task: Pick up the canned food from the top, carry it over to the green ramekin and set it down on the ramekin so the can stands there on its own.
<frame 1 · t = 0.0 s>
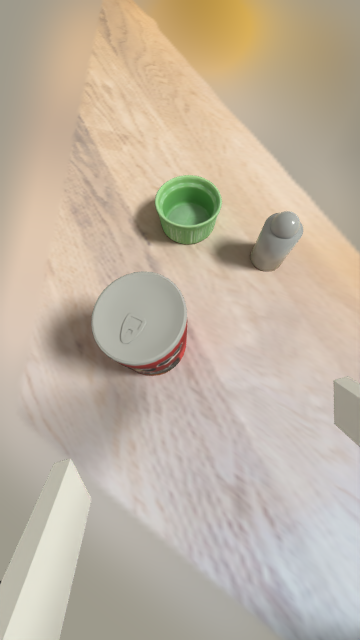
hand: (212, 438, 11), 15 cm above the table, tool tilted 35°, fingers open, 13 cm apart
ramekin: (187, 224, 34), on the table
canned food: (155, 344, 28), on the table
pepper pot: (265, 257, 32), on the table
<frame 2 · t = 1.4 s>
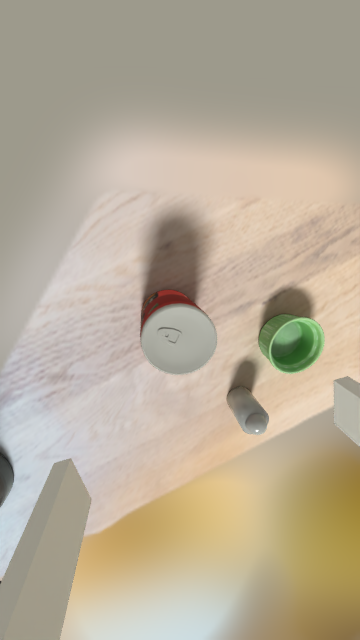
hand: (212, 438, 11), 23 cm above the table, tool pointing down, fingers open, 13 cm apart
ramekin: (279, 336, 37), on the table
canned food: (168, 314, 33), on the table
pepper pot: (238, 397, 39), on the table
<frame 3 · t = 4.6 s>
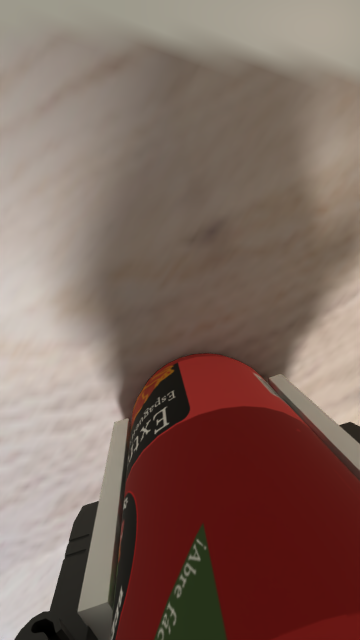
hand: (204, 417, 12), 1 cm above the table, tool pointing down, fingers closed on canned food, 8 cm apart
canned food: (200, 406, 13), on the table, touching gripper
when the fingers open (7 cm above the table, at t = 10.7 s): canned food drops 2 cm, resting on ramekin.
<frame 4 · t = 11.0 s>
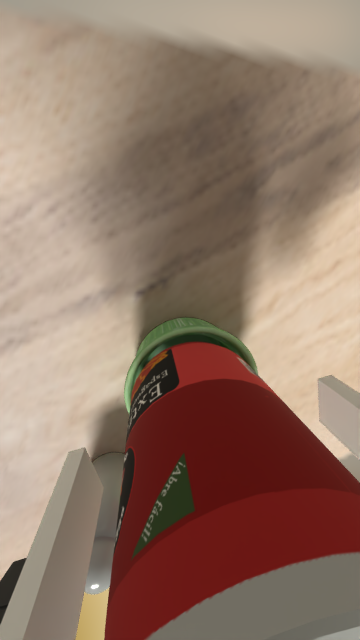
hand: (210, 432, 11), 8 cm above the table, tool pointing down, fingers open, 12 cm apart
ramekin: (183, 360, 19), on the table, touching canned food
canned food: (193, 390, 15), point 4 cm above the table, touching ramekin
pepper pot: (113, 471, 21), on the table
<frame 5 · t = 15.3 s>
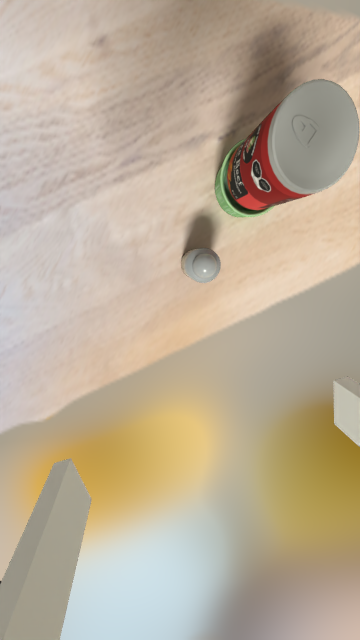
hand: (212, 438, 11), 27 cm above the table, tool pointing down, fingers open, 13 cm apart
ramekin: (240, 188, 33), on the table, touching canned food
canned food: (253, 178, 29), point 4 cm above the table, touching ramekin
pepper pot: (194, 263, 35), on the table
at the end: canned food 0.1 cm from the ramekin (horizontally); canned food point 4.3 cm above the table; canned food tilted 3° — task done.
